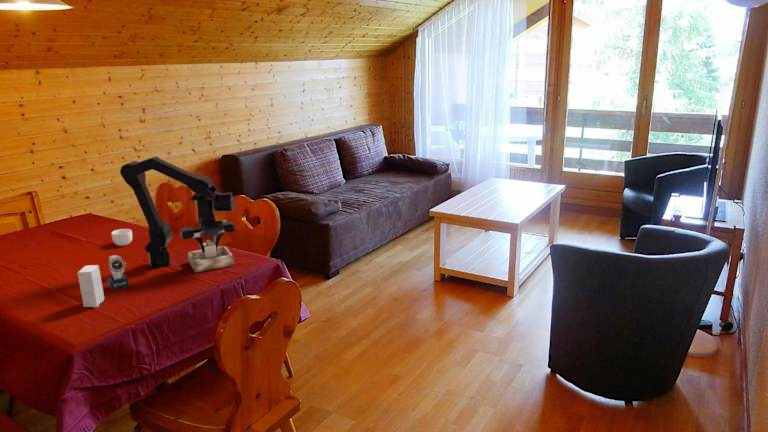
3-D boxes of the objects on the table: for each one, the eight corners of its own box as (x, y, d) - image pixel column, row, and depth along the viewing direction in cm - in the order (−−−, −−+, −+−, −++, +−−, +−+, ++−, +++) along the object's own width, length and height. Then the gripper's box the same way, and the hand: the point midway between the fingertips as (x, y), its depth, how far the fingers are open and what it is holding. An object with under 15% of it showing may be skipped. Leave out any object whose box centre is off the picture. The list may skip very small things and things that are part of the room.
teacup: (136, 243, 234) (135, 231, 232) (118, 248, 229) (116, 235, 227) (126, 238, 240) (124, 226, 239) (107, 243, 235) (105, 230, 234)
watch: (112, 292, 186) (107, 261, 183) (107, 285, 192) (102, 254, 189) (130, 288, 189) (126, 257, 186) (124, 281, 196) (120, 251, 192)
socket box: (195, 272, 202) (193, 262, 201) (188, 262, 212) (187, 252, 211) (233, 265, 209) (233, 255, 208) (226, 255, 219) (225, 245, 218)
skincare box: (91, 300, 181) (85, 265, 177) (104, 299, 181) (99, 264, 178) (83, 308, 175) (76, 272, 172) (97, 307, 175) (91, 271, 172)
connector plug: (206, 262, 207) (204, 243, 205) (203, 259, 211) (201, 240, 209) (217, 260, 209) (215, 241, 207) (214, 257, 213) (212, 238, 211)
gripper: (182, 220, 194) (187, 263, 198) (237, 213, 202) (240, 254, 207) (177, 213, 203) (182, 253, 208) (229, 206, 212) (232, 245, 216)
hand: (209, 252), depth 209 cm, fingers closed on connector plug, 4 cm apart
